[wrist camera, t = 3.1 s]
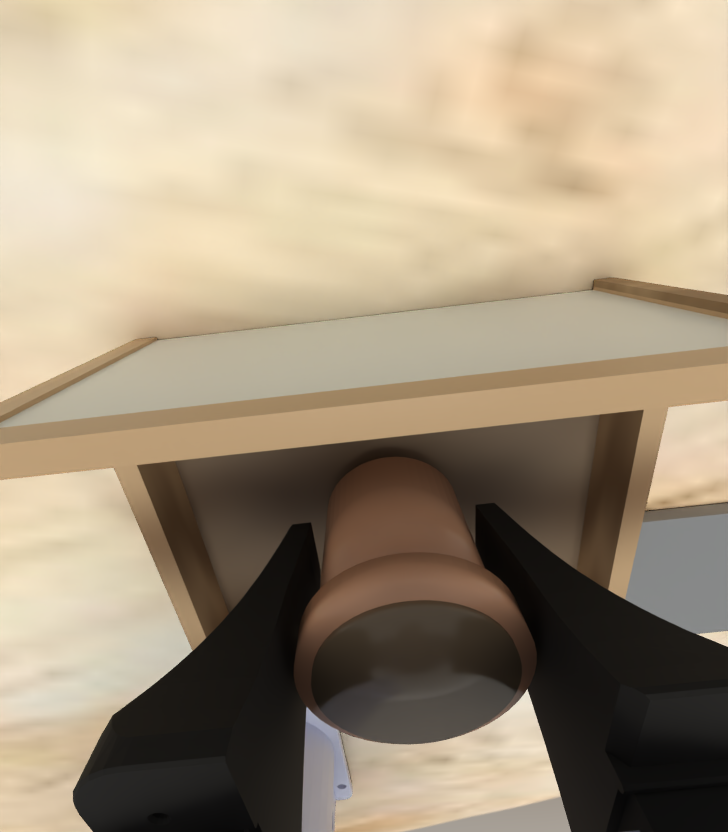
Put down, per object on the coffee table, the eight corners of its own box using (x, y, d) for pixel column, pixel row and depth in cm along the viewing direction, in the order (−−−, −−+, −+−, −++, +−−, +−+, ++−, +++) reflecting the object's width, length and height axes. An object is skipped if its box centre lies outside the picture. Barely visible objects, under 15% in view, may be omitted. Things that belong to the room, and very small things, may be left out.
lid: (613, 303, 13) (914, 380, 6) (141, 357, 13) (-92, 490, 6) (615, 283, 12) (934, 339, 6) (134, 339, 13) (-115, 457, 6)
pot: (468, 563, 15) (532, 743, 10) (328, 577, 15) (313, 762, 10) (469, 437, 13) (550, 580, 8) (304, 455, 13) (269, 608, 8)
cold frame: (583, 579, 18) (697, 748, 12) (220, 616, 18) (157, 797, 12) (633, 275, 12) (882, 308, 7) (117, 335, 13) (-82, 418, 7)
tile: (739, 617, 19) (751, 628, 18) (591, 631, 19) (599, 643, 19) (787, 496, 16) (803, 505, 16) (613, 514, 16) (622, 524, 16)
